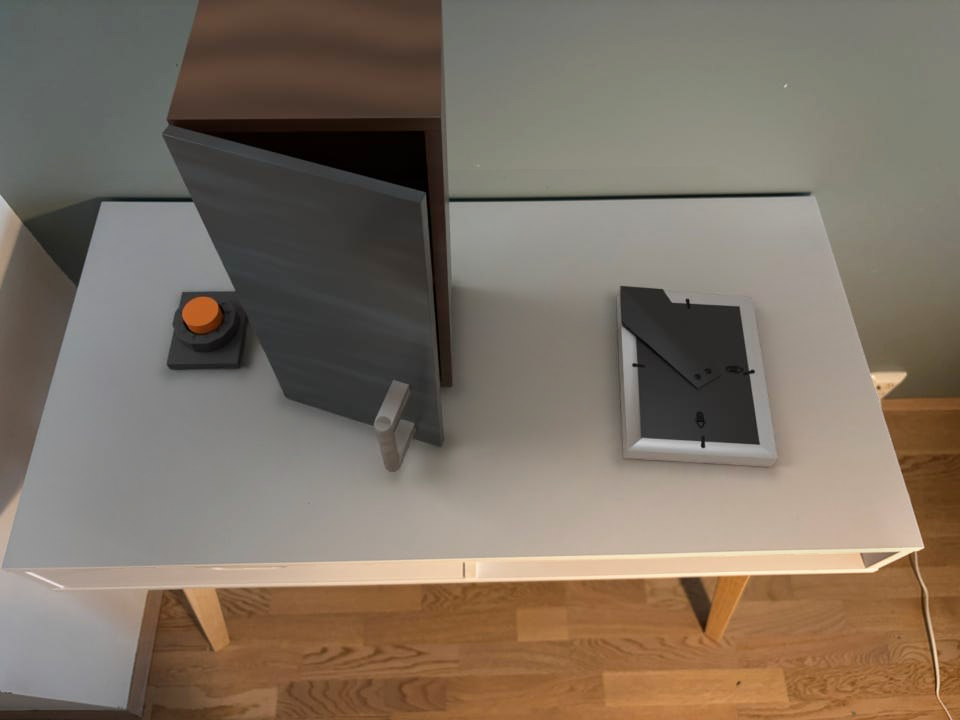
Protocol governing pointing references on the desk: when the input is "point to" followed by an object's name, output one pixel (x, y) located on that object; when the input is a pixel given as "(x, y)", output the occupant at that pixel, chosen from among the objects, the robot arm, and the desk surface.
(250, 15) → the cupboard
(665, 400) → the picture frame
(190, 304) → the button
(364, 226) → the cupboard door
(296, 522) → the desk surface
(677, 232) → the desk surface
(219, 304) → the control block
